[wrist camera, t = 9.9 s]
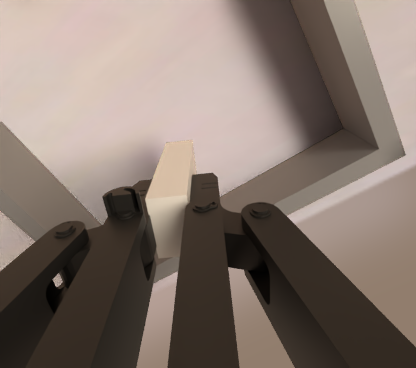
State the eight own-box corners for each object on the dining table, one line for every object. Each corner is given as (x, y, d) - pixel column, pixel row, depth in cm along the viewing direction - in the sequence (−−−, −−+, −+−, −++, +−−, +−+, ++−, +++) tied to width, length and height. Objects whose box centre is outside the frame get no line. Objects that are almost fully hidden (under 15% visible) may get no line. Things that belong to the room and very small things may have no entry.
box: (-11, 130, 20) (-65, 152, 16) (277, -94, 15) (305, -147, 11) (123, 264, 25) (108, 306, 21) (365, 133, 20) (405, 155, 16)
